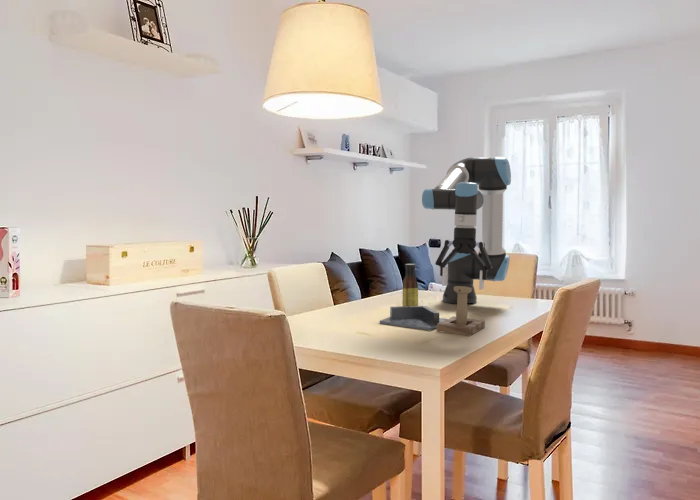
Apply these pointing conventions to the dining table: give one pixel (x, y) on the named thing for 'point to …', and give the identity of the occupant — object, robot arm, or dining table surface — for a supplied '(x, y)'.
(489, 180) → the robot arm
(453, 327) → the walnut collar
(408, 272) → the sauce bottle
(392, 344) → the dining table surface
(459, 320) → the handle
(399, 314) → the v cradle
